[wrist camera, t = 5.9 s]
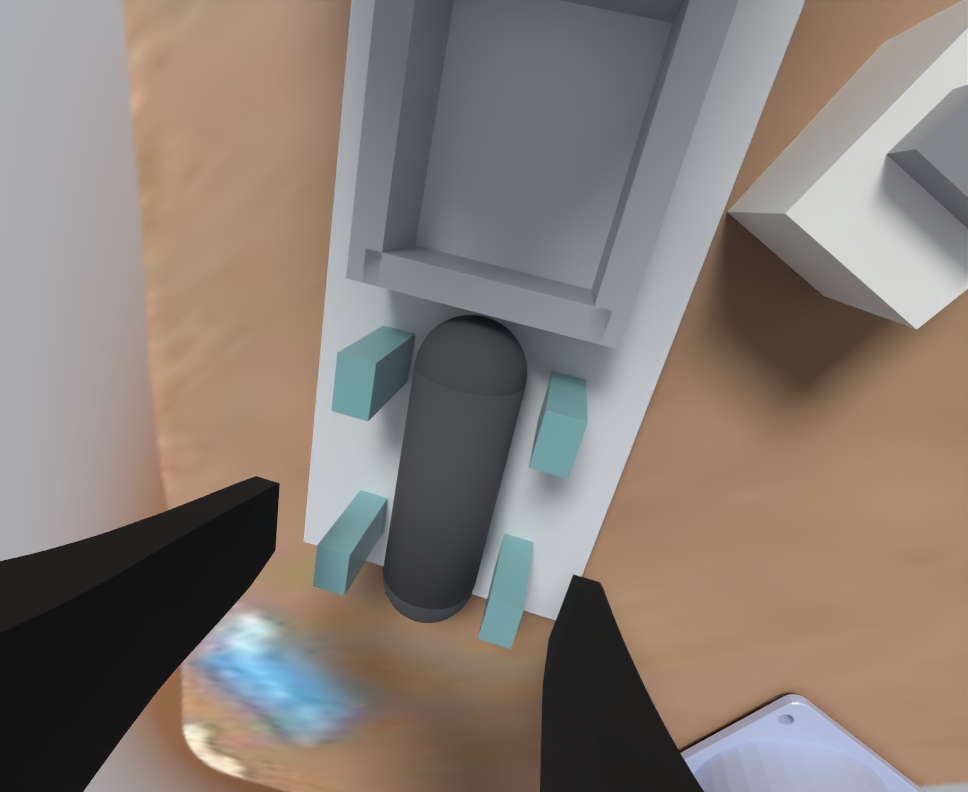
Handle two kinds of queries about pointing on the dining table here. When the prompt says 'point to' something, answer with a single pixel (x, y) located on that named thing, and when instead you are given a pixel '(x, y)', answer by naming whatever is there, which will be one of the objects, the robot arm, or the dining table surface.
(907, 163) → the plug
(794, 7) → the grey fixture board
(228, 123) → the dining table surface
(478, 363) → the dark grey capsule
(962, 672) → the dining table surface
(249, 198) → the dining table surface
